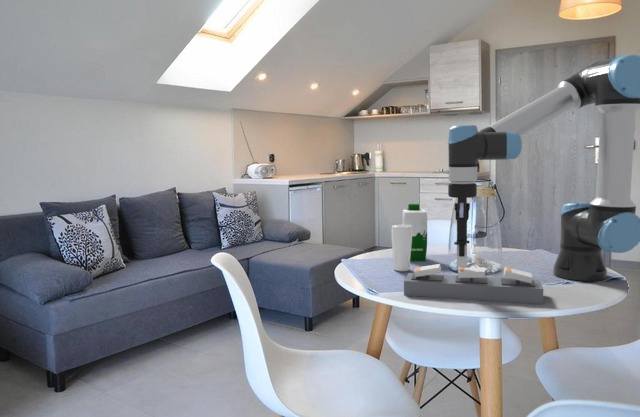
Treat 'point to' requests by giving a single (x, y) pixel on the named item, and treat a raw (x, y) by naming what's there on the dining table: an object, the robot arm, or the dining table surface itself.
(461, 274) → the rocker middle
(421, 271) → the rocker left
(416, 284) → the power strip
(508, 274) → the rocker right
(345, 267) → the dining table surface
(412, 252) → the milk carton
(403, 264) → the drinking glass
